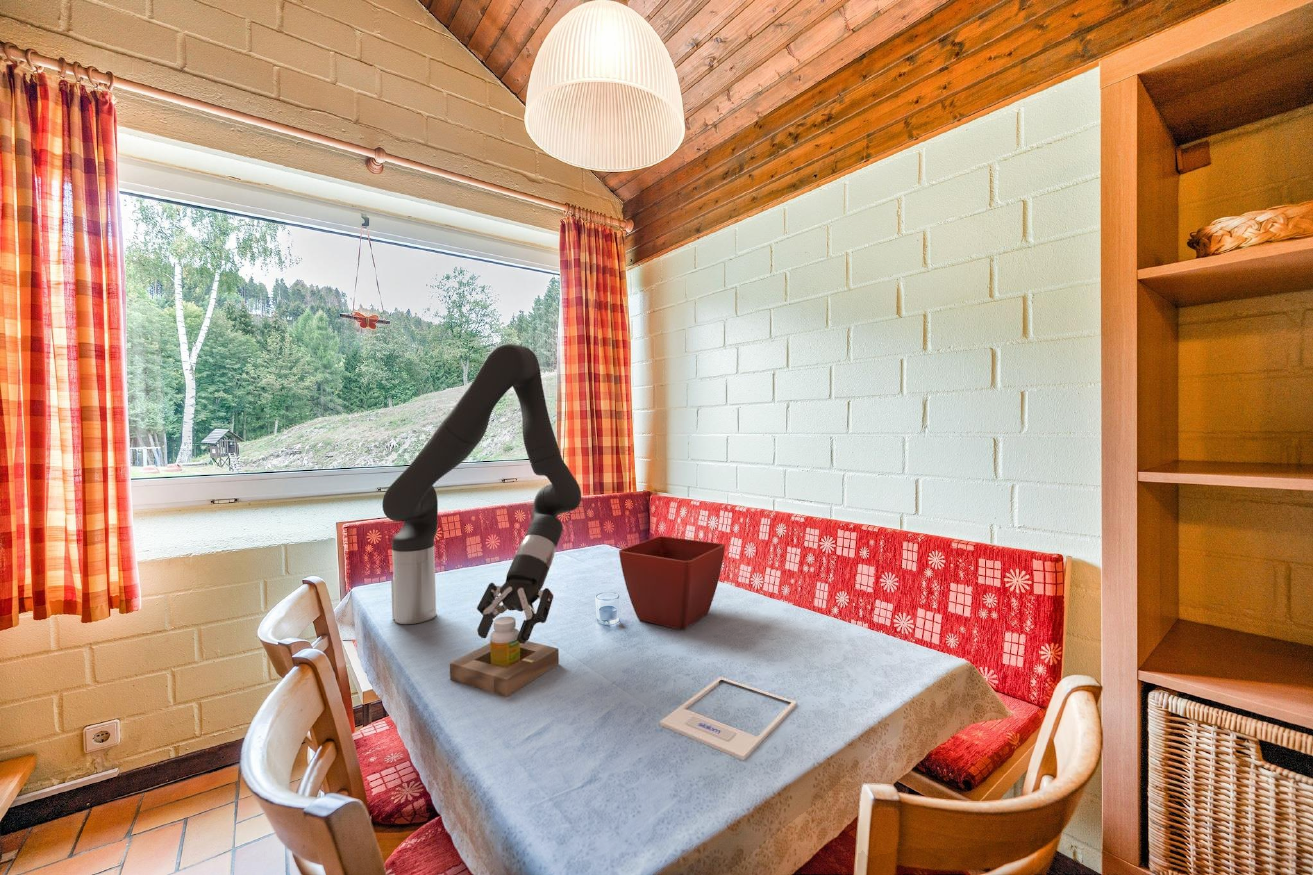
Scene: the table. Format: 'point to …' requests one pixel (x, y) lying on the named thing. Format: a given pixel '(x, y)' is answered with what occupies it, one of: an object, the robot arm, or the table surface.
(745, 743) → the photo frame
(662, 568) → the plant pot
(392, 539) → the robot arm
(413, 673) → the table surface
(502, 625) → the supplement bottle
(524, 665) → the socket block
